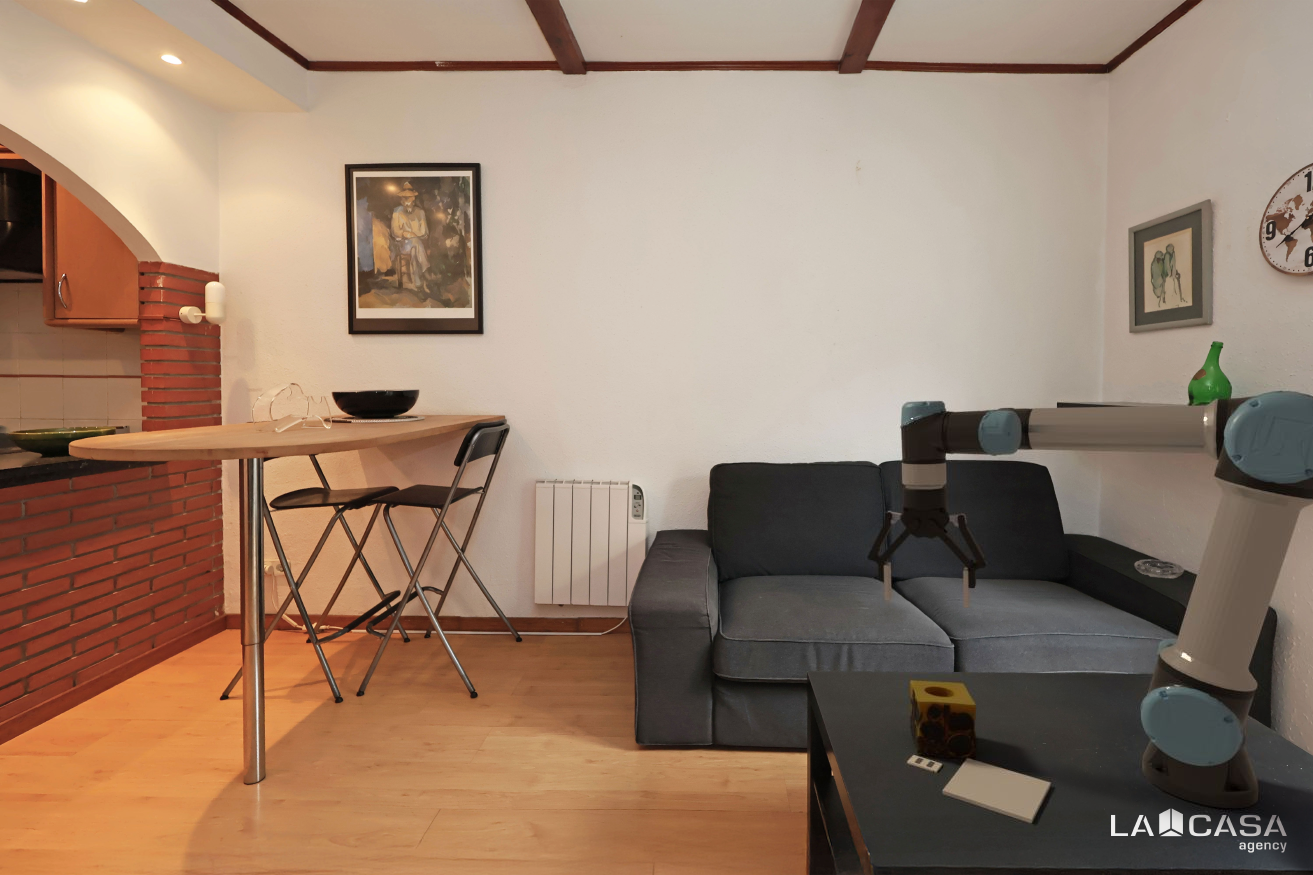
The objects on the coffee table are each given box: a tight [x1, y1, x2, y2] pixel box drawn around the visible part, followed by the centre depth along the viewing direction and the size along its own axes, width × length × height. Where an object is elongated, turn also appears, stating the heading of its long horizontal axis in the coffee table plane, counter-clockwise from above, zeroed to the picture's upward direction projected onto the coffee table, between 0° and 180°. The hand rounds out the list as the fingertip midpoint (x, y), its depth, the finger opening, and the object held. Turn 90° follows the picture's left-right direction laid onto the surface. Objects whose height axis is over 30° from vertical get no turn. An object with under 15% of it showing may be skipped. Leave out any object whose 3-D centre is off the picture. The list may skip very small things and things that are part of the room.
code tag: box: [906, 754, 943, 773], centre depth 126 cm, size 5×3×1 cm, turn 51°
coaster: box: [942, 758, 1052, 824], centre depth 118 cm, size 13×13×1 cm
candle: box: [909, 680, 978, 761], centre depth 133 cm, size 10×10×10 cm
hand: (926, 602), depth 133 cm, fingers open, 13 cm apart
